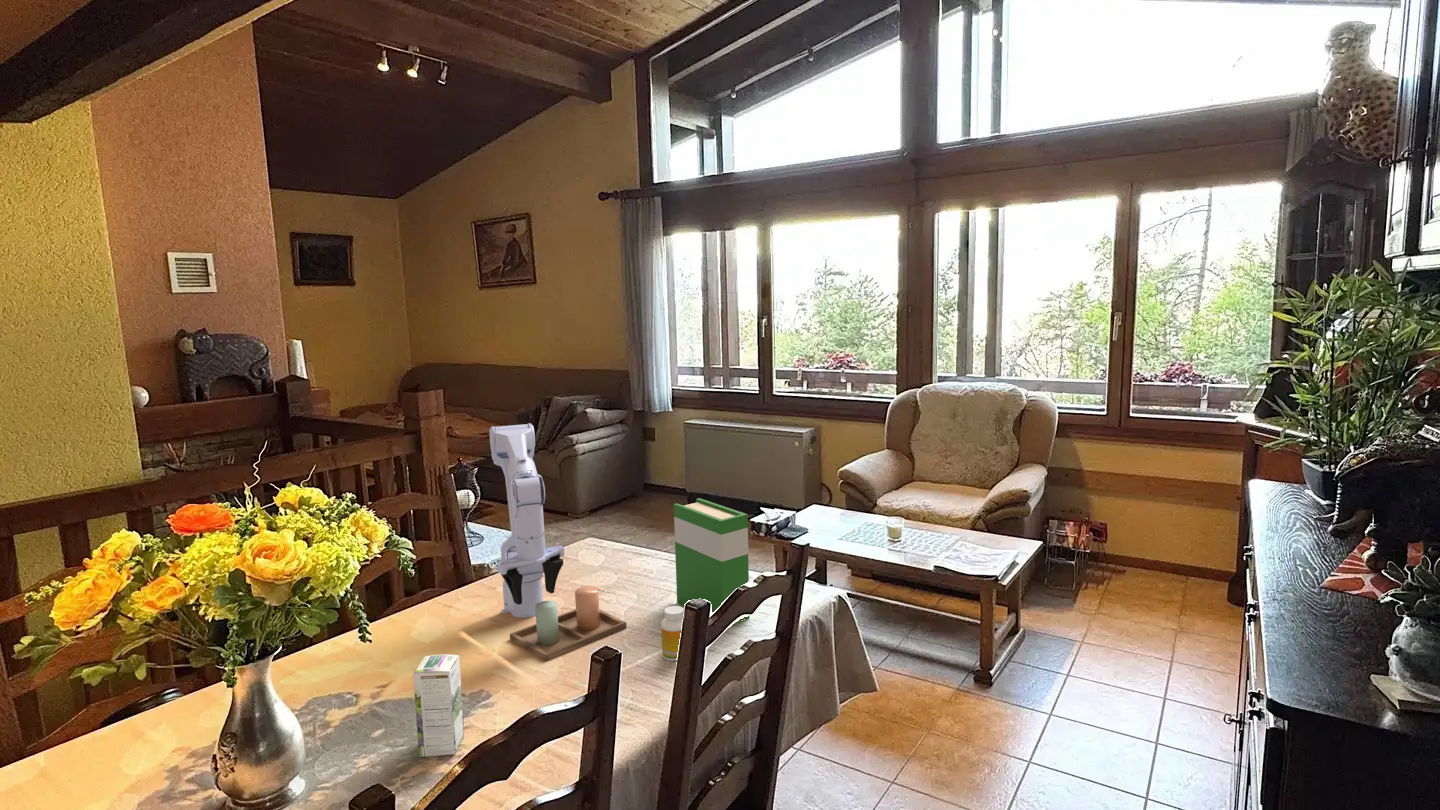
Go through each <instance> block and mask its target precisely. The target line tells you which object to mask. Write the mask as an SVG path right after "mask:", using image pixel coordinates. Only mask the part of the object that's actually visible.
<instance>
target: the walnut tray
mask: <svg viewBox="0 0 1440 810" xmlns="http://www.w3.org/2000/svg"><path fill="white" fill-rule="evenodd" d="M599 612H600V626H599V627H598V628H597V629H594V630H590V631H582V630H579V629H578V628H577V619H576V608H575V609H572V610H570V611H567V612H565V613H561V614H558V627H559V642H558V643H557V644H555V645H552V646H540V645H539V644H538V639H537V626H536V623H535V624H533V625H530V626H527V627H524V628H522V629H521V628H520V629H519V630H516V631H513V632H511V633H509V640H511V641H512V642H514V643H515V644H517V645H519V646H520V647H522V648H524V649H525V650H527V651H529V653H531V654H534V656H536V657H538V658H539V659H541V660H543V661H545V662H547V661H548V662H549V661H550V660H552V659H555V658H557V657H560V656H562V655H564V654H567V653H569V652H572V651H574V650H577V649H579V648H582V647H584V646H587V645H589V644H591V643H594V642H596V641H598V640H601V639H603V638H605V637H609V636H610V635H613V634H615V633H619V632H620V631H623V630H625V629H627V622H626V621H624V620H622V619H620V618H618V617H616V616H614V615H611V614H610V613H608V612H607V611H606V612H605V611H604V610H601V609H599Z"/></svg>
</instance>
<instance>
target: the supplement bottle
mask: <svg viewBox="0 0 1440 810" xmlns="http://www.w3.org/2000/svg"><path fill="white" fill-rule="evenodd" d="M683 614H684V615H685V609H684V607H682V606H681V605H680V606H679V605H669V606H667V607H665V608H664V610H663V617H664V618H663V619H662V620H661V624H660V626H661V627H660V628H661V632H660V633H661V655H662V658H663V659H665V660H667V662H668V661H669V662H677V661H676V658H677V652H678V645H679V639H680V633H681V626H682V619H683Z"/></svg>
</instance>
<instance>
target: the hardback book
mask: <svg viewBox="0 0 1440 810" xmlns="http://www.w3.org/2000/svg"><path fill="white" fill-rule="evenodd" d="M695 500H696V502H694V503H693V502H692V503H689V504H685V505H683V504H679V503H674V504H673V522H674V523H673V524H674V550H675V554H674V555H675V580H676V582H675V583H676V603H677V604H678V605H680V606H681V607H682V606H683V607H684V604H685V603H686V602H687V601H688V600H692V599H699V598H701V599H706V600H708V601H710V602H711V604H712V612H714V611H715V610H716V609H717V608H718V607H719V606H720V605H721V603H722V602H723V601H724V600H725V599H726V598H727V597H728V596H729V595H730V594H731V593H732V592H733V591H734V590H735V589H736V588H738V587H740V586H741V585H743V584H745V583H747V582H748V581H749V582H750V579H749V578H750V577H749V576H750V575H749V572H750V571H749V570H750V569H749V528H748V527H749V523H748V521H749V520H748V519H749V517H748V514H747V513H745V512H742V511H739V510H736V509H733V508H730V507H726V506H724V505H721V504H718V503H715V502H712V501H709V500H707V499H703V498H699V497H698V498H696V499H695ZM744 619H746V620H749V619H750V615H749V616H748V617H744V618H743V619H740V620H739V621H741V620H744ZM744 621H745V620H744ZM741 622H742V621H741Z"/></svg>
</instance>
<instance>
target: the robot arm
mask: <svg viewBox="0 0 1440 810" xmlns="http://www.w3.org/2000/svg"><path fill="white" fill-rule="evenodd" d="M534 428H535V427H534V425H533V424H532V423H526V424H524V423H523V424H514V425H501V426H493V425H492V426H490V428H489V445H490V451H491V452H490V453H491V459H492V461H493V464H494V465H496V466H497V467H500V468H501V469H502V472H503V474H504V479H505V486H506V487H505V488H506V498H507V505H508V514H509V523H510V531H511V535H509V537H508V538H507V539H506V540H505V541H503V543H502V544H501V546H500V562H497V564H496V565H497V573H498V574H500V575H501V577H502V579H504V580H503V583H502V594H503V609H501V610H500V613H501V614H506V613H508V612H509V613H510V614H511V616H513V617H516V618H522V619H523V618H525V619H526V618H531V617H536V613H535V605H536V604H537V603H539V602H542V601H544V592H543V591H544V590H543V579H542V578H544V588H545V591H546V592H547V593H550V594H551V595H552V594H554V593H555V589H556V583H557V579H558V576H559V573H560V572H561V569H562V567H563V566H564V559H563V557H565V547H564V546H561V545H556V546H550V547H546V540H545V539H546V537H545V524H544V523H545V522H544V506H543V504H545V500H546V487H545V482H544V480H543V477H542V475H540V474H538V471H537V467H536V464H535V461H534V456H535V448H536V434H535V433H536V432H535V429H534Z"/></svg>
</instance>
